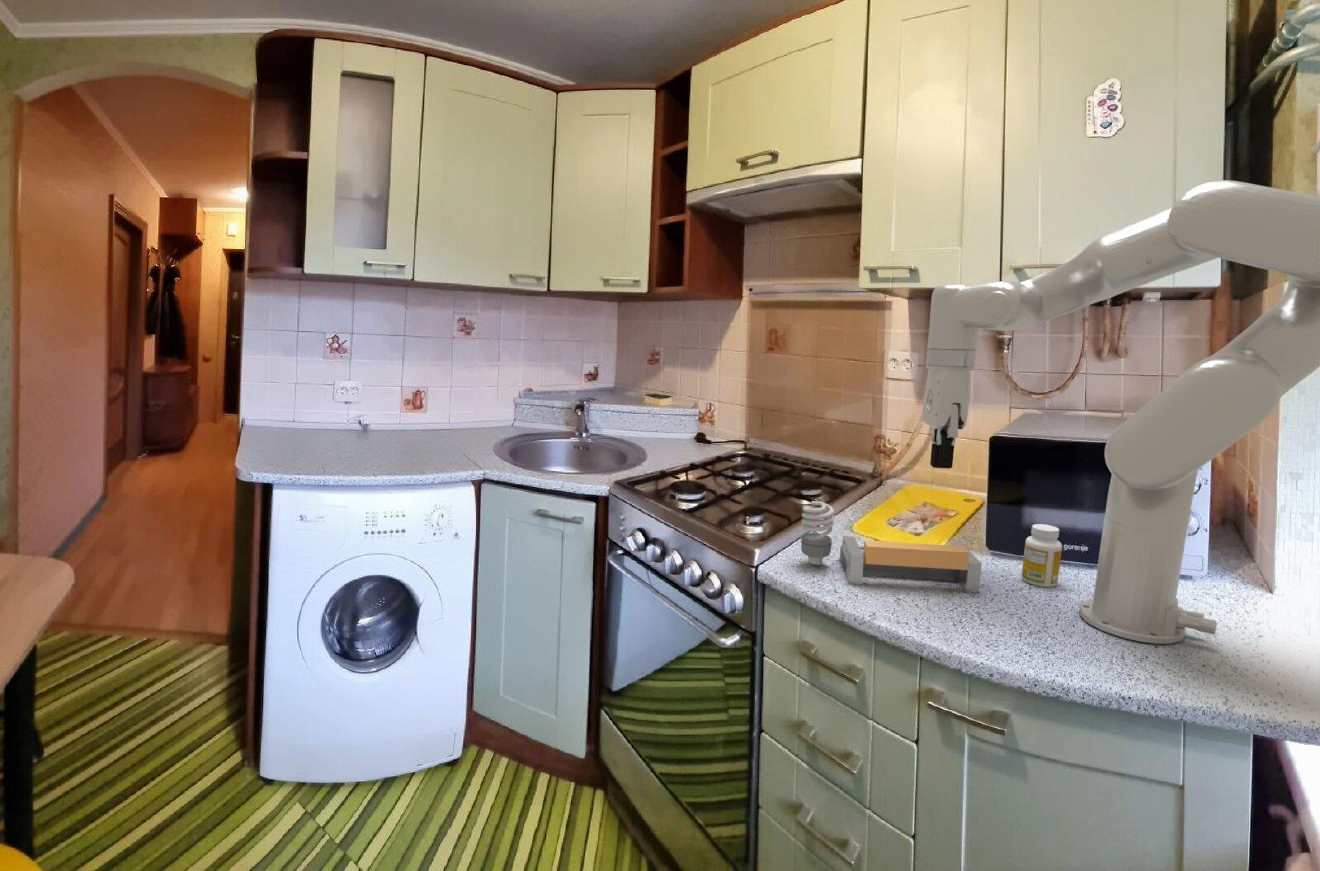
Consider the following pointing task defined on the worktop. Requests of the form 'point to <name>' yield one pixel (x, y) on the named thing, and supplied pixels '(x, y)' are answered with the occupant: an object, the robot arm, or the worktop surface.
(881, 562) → the orange long rectangular bar
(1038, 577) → the supplement bottle
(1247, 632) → the worktop surface
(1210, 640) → the worktop surface
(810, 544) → the light bulb
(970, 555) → the holder stand
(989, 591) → the worktop surface
